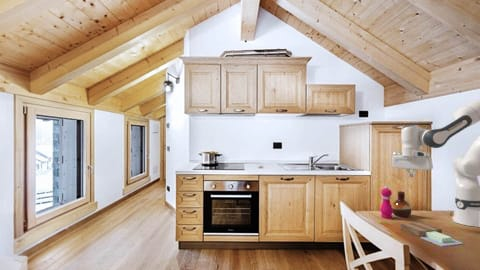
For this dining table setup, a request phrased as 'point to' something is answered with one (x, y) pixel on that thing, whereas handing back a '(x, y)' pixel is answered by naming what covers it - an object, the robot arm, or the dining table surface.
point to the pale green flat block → (438, 236)
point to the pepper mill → (386, 204)
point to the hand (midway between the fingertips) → (412, 176)
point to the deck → (419, 229)
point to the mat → (442, 243)
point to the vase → (401, 206)
